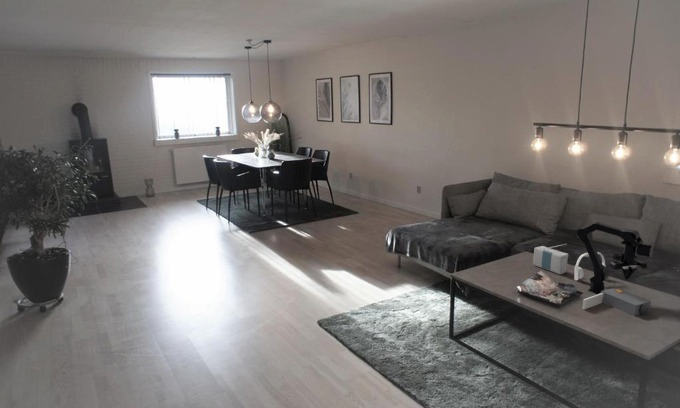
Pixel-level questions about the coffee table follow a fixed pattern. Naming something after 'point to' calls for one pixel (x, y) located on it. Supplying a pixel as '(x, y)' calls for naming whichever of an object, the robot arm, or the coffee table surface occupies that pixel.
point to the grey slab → (626, 301)
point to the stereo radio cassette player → (550, 259)
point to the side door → (593, 301)
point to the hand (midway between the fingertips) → (626, 279)
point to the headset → (578, 271)
